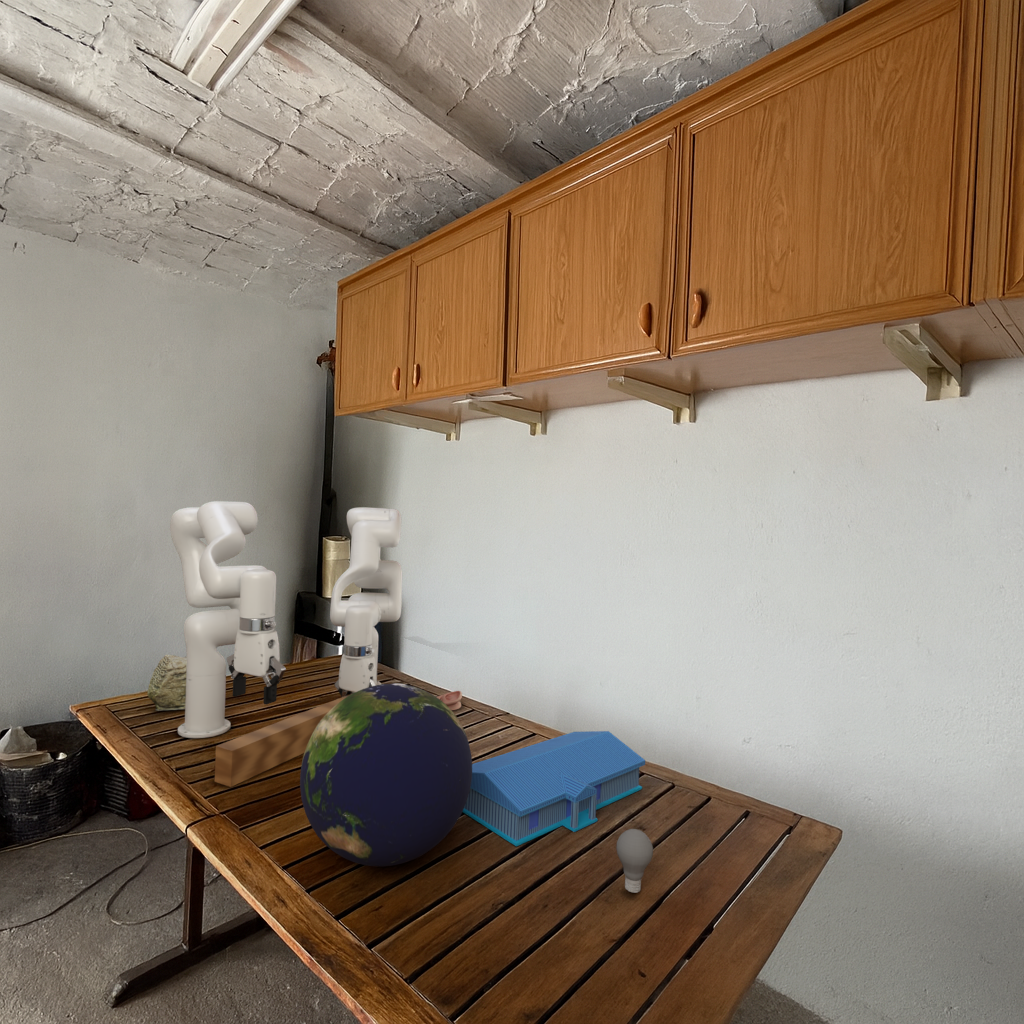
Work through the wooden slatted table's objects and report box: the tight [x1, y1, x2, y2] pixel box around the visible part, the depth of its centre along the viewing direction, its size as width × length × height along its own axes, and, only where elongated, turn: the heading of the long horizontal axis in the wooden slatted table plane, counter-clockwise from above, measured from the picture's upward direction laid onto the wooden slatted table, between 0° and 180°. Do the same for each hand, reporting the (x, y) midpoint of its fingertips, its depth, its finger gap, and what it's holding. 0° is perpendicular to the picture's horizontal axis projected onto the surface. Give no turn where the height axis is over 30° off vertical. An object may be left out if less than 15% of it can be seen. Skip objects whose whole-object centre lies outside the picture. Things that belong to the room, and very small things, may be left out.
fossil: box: [147, 654, 187, 712], centre depth 185 cm, size 9×18×15 cm, turn 132°
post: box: [214, 693, 353, 788], centre depth 161 cm, size 52×5×8 cm, turn 154°
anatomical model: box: [436, 690, 463, 711], centre depth 194 cm, size 13×4×12 cm
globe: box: [299, 683, 473, 868], centre depth 113 cm, size 30×30×30 cm
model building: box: [462, 730, 646, 847], centre depth 137 cm, size 39×24×10 cm, turn 132°
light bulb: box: [615, 828, 654, 894], centre depth 106 cm, size 6×6×10 cm
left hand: (254, 698), depth 144 cm, fingers open, 9 cm apart
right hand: (355, 714), depth 177 cm, fingers closed on post, 5 cm apart
